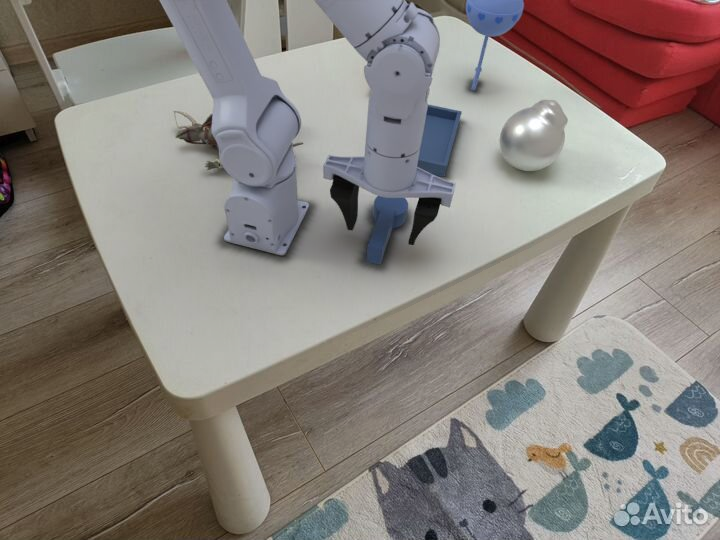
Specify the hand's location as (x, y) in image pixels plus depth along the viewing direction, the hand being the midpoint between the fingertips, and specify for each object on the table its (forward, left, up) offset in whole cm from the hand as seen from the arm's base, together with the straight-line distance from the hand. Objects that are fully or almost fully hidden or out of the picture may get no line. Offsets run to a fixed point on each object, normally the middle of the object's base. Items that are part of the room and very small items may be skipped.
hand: (381, 232), depth 64 cm
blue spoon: (+2, 0, -2) cm, 3 cm away
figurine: (+13, +25, -2) cm, 28 cm away
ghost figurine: (+22, -16, -2) cm, 28 cm away
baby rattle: (+40, -6, -2) cm, 41 cm away
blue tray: (+22, 0, -2) cm, 23 cm away
